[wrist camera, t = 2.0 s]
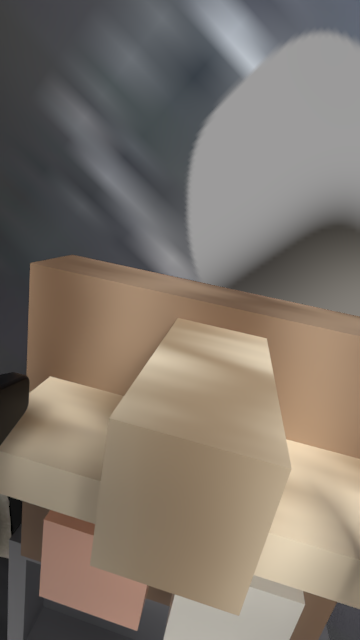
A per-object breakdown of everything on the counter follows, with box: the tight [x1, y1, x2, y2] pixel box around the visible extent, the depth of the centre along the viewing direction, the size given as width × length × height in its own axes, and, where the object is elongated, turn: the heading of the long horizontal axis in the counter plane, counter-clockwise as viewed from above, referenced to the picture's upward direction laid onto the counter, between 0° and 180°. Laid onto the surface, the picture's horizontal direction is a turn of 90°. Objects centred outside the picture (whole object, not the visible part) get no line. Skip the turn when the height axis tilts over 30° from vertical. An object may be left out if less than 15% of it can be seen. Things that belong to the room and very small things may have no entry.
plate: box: [21, 255, 360, 640], centre depth 14 cm, size 14×14×3 cm
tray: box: [7, 523, 329, 640], centre depth 18 cm, size 16×9×2 cm, turn 80°
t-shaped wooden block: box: [0, 318, 360, 616], centre depth 9 cm, size 12×5×6 cm, turn 80°
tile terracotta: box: [39, 510, 149, 631], centre depth 13 cm, size 4×4×2 cm
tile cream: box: [163, 575, 305, 640], centre depth 12 cm, size 4×4×2 cm
